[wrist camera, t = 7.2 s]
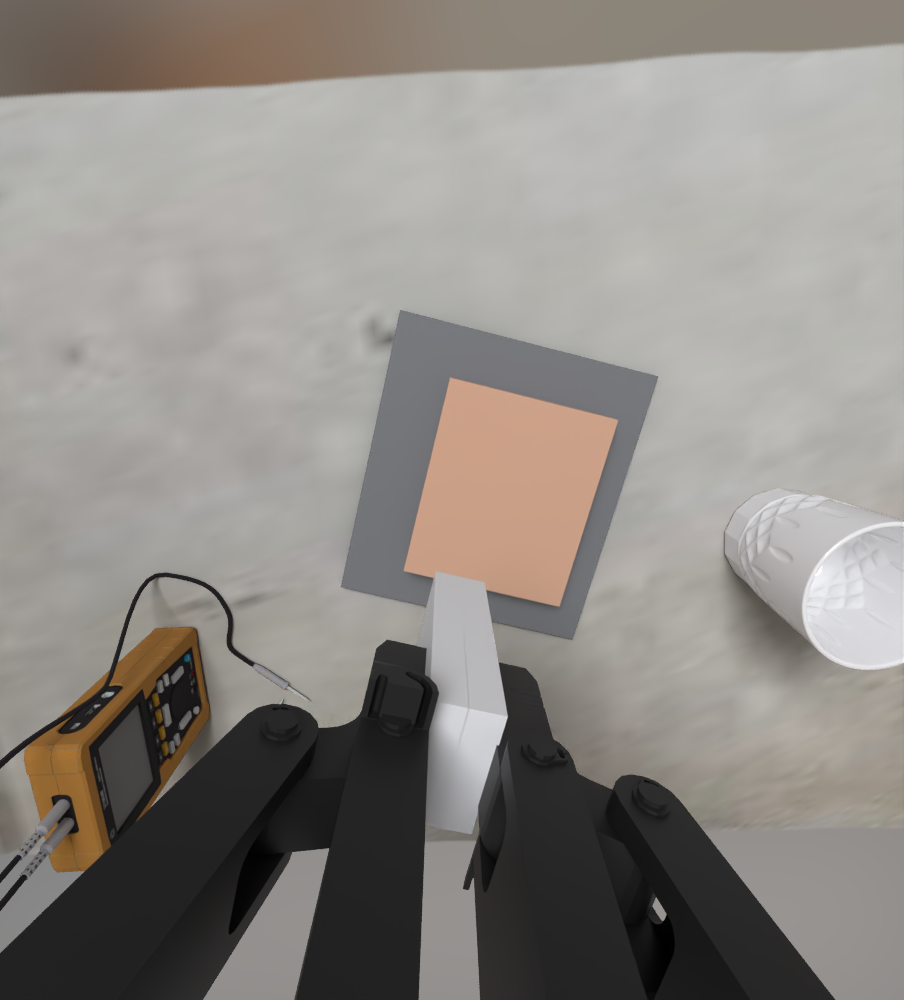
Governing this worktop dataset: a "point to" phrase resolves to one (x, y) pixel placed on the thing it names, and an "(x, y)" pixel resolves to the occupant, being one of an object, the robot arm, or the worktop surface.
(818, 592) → the white cup
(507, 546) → the tile
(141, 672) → the multimeter
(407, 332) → the mat
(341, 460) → the worktop surface
